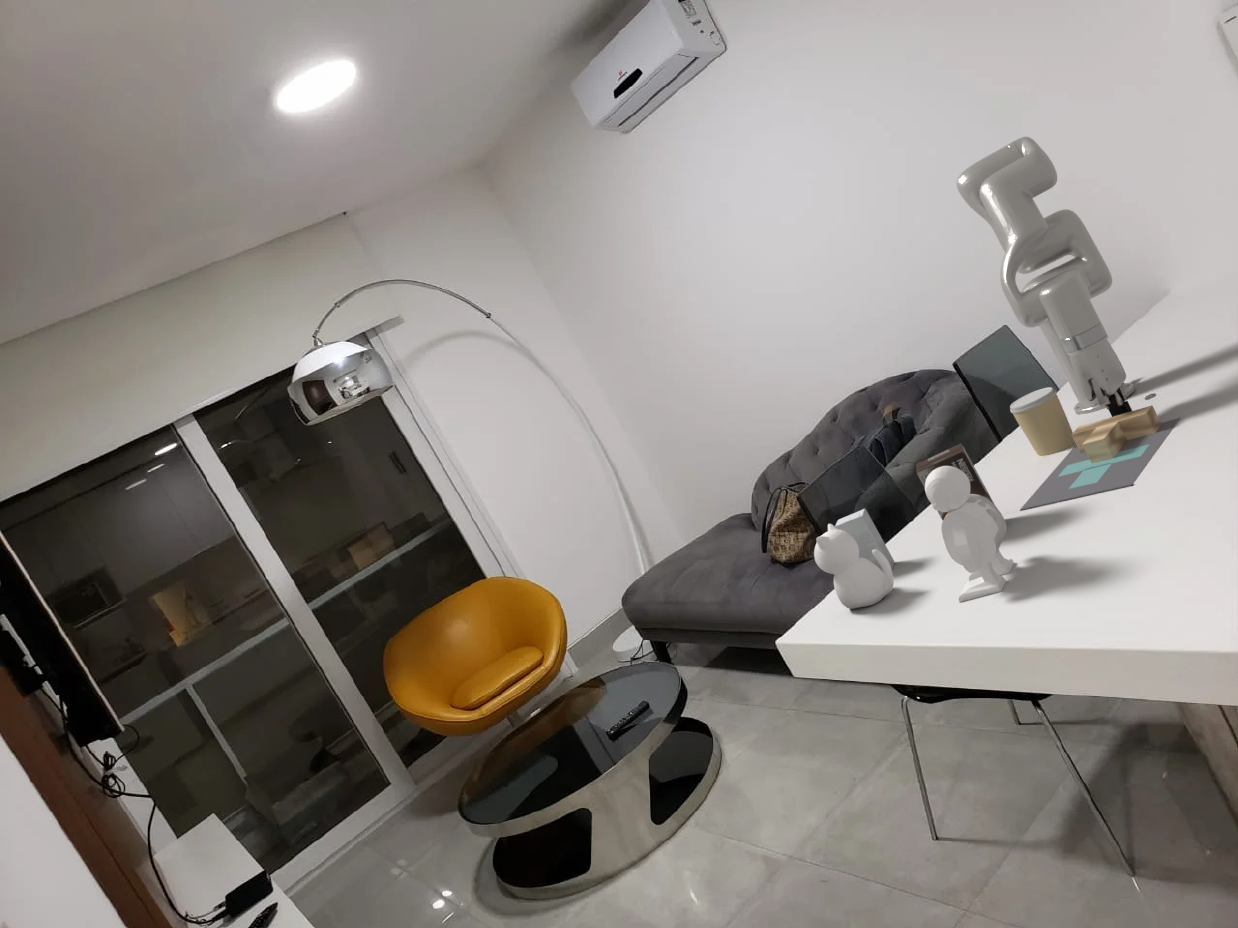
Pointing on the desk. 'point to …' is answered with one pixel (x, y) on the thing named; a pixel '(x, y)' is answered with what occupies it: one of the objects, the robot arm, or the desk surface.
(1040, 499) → the rubber mat
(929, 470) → the coffee box
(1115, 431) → the pine T block
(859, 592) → the cat figurine
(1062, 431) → the coffee cup
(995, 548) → the white humanoid figurine
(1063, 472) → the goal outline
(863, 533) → the skincare box
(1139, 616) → the desk surface
